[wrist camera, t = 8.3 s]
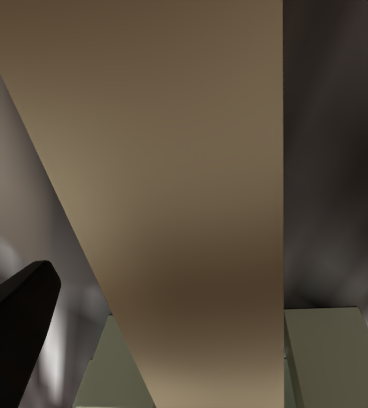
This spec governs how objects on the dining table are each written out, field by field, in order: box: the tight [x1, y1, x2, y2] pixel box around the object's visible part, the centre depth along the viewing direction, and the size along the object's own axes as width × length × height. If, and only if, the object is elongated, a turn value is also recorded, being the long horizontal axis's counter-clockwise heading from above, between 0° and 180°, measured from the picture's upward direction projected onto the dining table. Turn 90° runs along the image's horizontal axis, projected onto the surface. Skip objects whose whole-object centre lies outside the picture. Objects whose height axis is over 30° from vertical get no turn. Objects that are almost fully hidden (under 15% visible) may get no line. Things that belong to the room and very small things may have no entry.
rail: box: [0, 0, 284, 408], centre depth 8 cm, size 18×4×5 cm, turn 10°
